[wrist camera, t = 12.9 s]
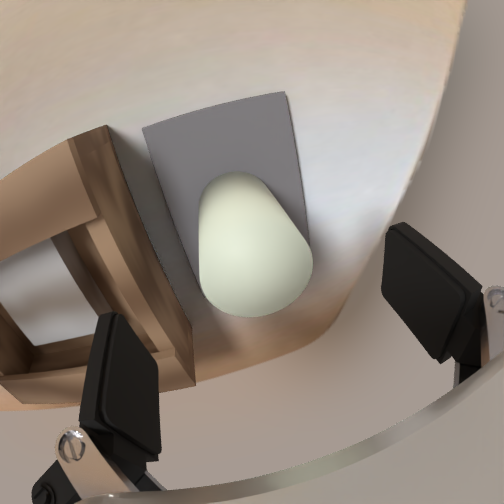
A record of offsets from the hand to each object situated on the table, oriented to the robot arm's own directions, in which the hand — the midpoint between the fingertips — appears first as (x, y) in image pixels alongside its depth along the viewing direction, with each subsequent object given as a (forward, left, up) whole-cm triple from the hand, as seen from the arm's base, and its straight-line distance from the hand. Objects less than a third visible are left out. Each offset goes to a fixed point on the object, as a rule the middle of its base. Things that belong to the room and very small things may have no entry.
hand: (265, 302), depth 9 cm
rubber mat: (0, 0, -9) cm, 9 cm away
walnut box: (+1, -15, -9) cm, 17 cm away
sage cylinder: (0, 0, -9) cm, 9 cm away
